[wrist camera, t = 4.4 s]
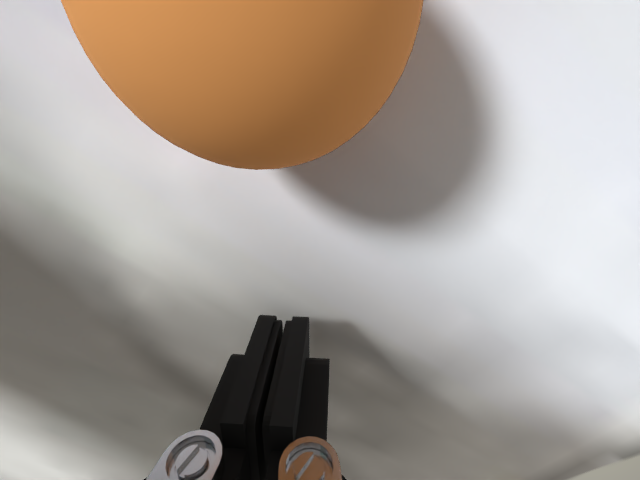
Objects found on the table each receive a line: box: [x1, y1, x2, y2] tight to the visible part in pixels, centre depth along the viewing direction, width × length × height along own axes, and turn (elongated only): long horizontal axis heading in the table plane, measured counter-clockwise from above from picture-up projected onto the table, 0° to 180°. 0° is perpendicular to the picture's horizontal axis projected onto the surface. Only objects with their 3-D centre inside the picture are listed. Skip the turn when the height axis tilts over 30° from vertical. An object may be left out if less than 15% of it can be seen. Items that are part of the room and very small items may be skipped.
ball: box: [61, 0, 423, 170], centre depth 6 cm, size 6×6×6 cm
